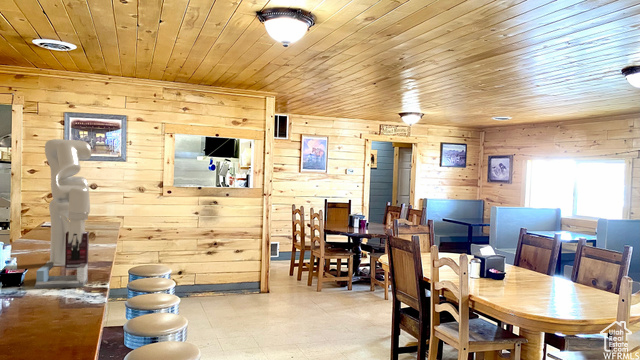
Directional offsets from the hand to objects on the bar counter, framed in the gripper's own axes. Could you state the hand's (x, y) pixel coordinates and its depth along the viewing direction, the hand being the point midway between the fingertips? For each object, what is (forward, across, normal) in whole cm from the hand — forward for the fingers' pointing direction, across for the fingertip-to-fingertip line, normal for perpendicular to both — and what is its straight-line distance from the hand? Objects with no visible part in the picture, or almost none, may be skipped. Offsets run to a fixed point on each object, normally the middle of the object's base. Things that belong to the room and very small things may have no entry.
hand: (76, 257), depth 205 cm
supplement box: (+5, 0, 0) cm, 5 cm away
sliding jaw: (+6, +10, -10) cm, 15 cm away
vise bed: (+8, +14, -2) cm, 16 cm away
